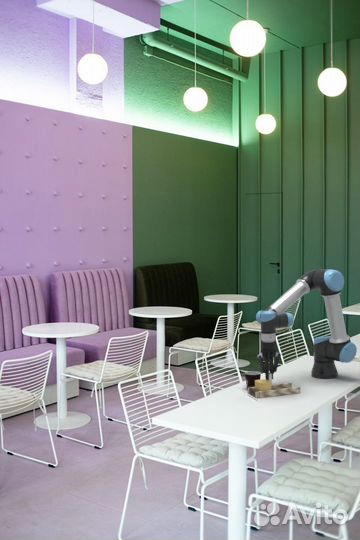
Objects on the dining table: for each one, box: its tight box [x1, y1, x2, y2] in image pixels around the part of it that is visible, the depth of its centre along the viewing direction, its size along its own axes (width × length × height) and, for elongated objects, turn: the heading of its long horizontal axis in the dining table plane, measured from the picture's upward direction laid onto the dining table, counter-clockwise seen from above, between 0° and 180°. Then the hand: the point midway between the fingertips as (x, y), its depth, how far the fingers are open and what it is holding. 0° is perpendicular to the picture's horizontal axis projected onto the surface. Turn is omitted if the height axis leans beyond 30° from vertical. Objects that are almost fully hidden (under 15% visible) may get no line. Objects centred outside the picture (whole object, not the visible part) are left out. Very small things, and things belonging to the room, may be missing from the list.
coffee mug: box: [244, 370, 262, 391], centre depth 335 cm, size 12×9×10 cm
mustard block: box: [255, 378, 271, 391], centre depth 322 cm, size 6×7×7 cm
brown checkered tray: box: [247, 382, 301, 401], centre depth 324 cm, size 25×12×4 cm, turn 108°
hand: (269, 385), depth 323 cm, fingers closed
